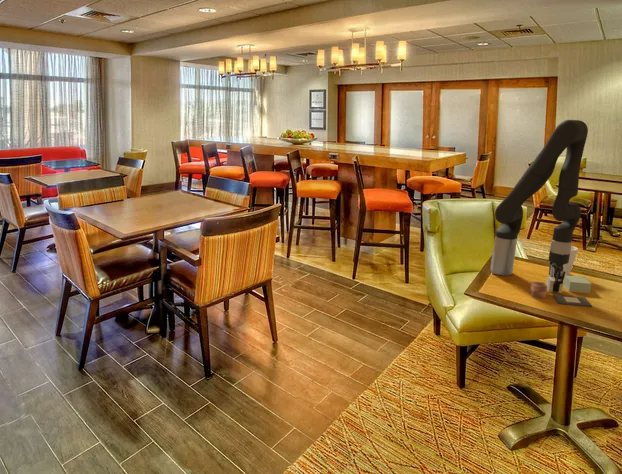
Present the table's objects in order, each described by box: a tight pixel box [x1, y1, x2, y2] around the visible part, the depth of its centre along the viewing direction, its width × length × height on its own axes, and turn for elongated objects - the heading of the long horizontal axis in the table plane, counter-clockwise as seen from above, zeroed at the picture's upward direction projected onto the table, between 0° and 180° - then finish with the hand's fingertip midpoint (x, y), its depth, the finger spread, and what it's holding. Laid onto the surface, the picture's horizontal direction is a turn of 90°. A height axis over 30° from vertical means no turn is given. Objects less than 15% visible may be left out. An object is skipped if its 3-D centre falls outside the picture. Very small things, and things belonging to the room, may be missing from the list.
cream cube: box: [545, 275, 564, 294], centre depth 195 cm, size 5×5×5 cm
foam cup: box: [563, 245, 579, 276], centre depth 212 cm, size 10×9×13 cm
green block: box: [563, 275, 592, 294], centre depth 197 cm, size 8×8×4 cm
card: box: [552, 294, 593, 308], centre depth 184 cm, size 12×8×1 cm, turn 78°
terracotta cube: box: [529, 281, 548, 300], centre depth 189 cm, size 5×5×5 cm
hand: (553, 288), depth 195 cm, fingers closed on cream cube, 5 cm apart
